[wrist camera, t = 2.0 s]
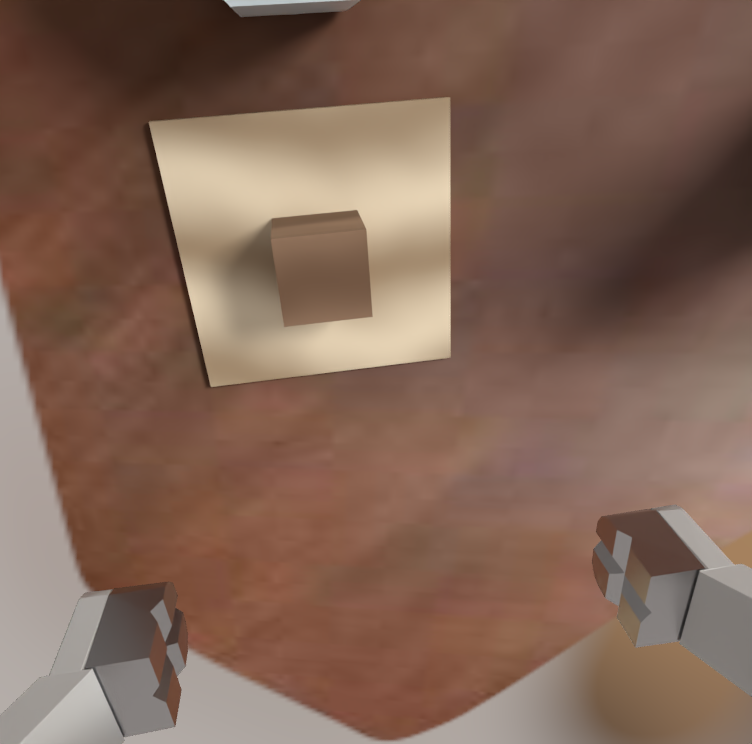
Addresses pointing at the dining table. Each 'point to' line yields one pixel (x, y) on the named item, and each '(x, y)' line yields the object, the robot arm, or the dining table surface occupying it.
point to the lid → (313, 235)
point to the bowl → (287, 6)
